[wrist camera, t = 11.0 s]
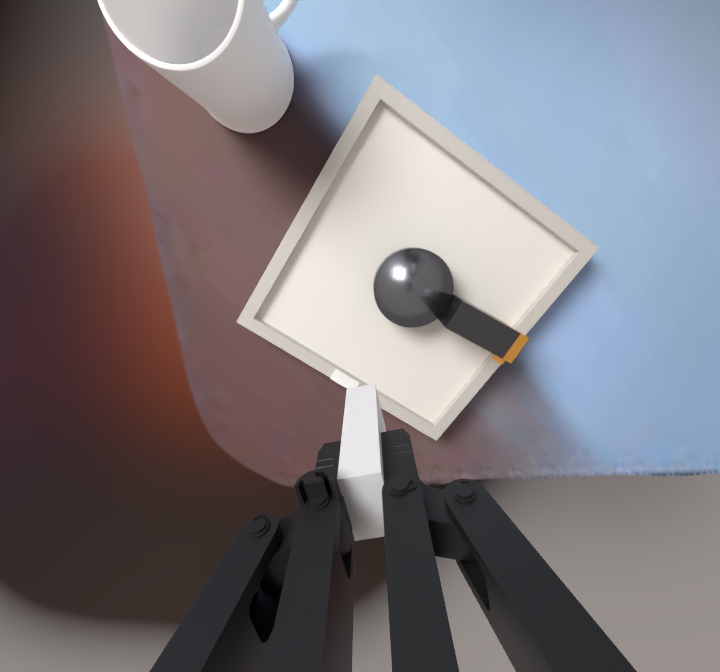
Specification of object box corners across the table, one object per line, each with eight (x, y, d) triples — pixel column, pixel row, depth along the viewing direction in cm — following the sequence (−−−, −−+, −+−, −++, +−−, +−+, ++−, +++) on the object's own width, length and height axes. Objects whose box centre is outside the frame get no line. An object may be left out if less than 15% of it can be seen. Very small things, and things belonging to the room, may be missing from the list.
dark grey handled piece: (359, 300, 32) (359, 311, 28) (397, 232, 30) (402, 233, 26) (479, 364, 34) (496, 383, 30) (521, 304, 32) (545, 316, 28)
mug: (295, -32, 27) (244, -225, 15) (345, 82, 29) (334, -14, 18) (174, 51, 29) (47, -68, 17) (230, 152, 31) (152, 106, 19)
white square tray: (375, 88, 29) (376, 72, 26) (580, 246, 33) (600, 247, 30) (246, 314, 35) (235, 322, 32) (431, 426, 39) (436, 441, 36)
